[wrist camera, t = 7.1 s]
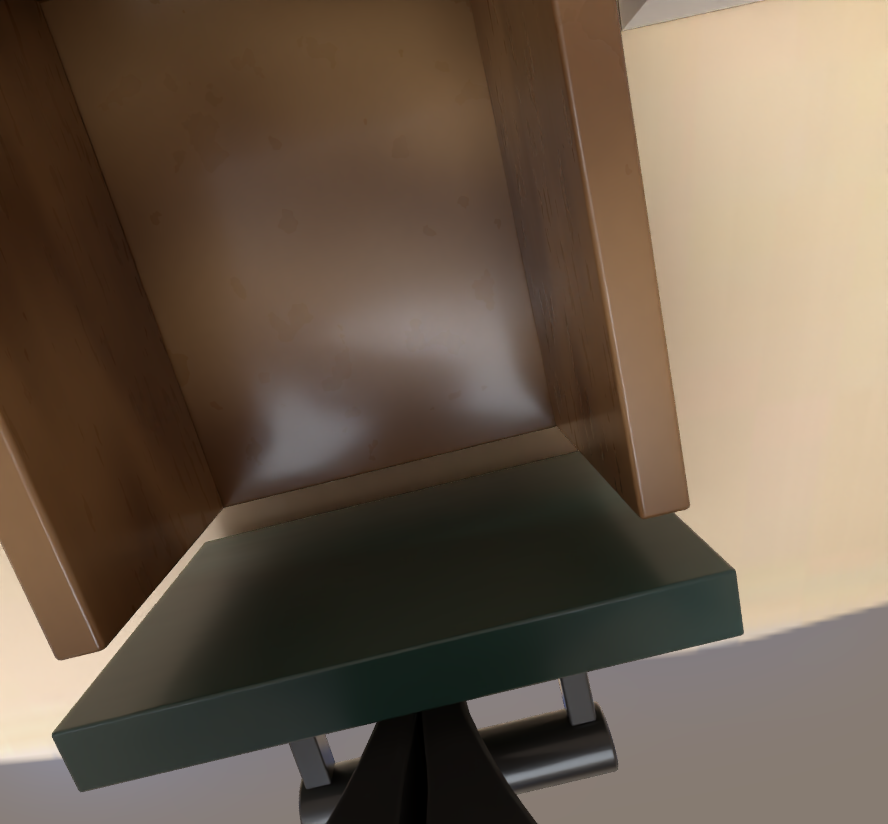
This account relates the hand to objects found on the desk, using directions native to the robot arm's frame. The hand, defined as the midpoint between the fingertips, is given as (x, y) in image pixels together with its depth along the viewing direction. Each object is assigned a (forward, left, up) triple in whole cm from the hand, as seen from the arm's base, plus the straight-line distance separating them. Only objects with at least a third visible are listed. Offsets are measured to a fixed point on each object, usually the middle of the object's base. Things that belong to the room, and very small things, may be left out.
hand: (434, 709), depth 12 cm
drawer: (+7, 0, -4) cm, 8 cm away
